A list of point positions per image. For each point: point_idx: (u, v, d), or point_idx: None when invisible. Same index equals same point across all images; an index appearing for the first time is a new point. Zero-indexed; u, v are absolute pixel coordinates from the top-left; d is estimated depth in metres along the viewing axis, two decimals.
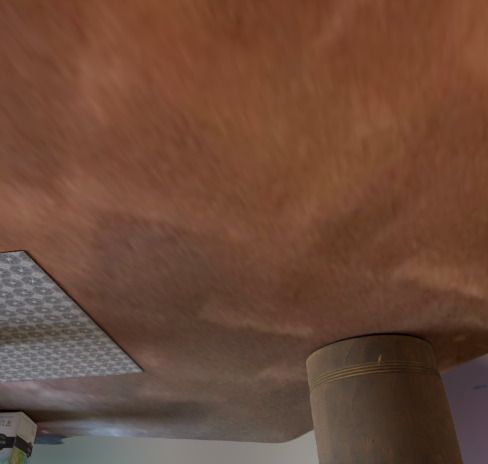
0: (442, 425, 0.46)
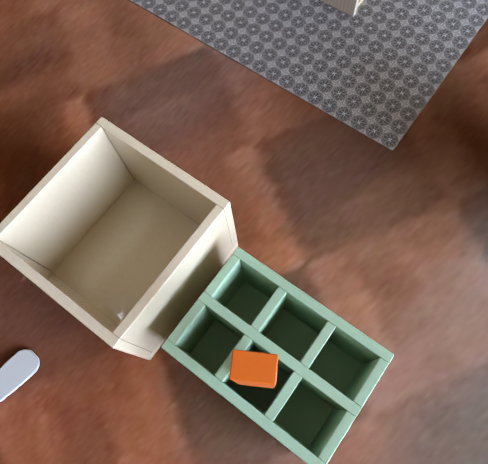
0: None
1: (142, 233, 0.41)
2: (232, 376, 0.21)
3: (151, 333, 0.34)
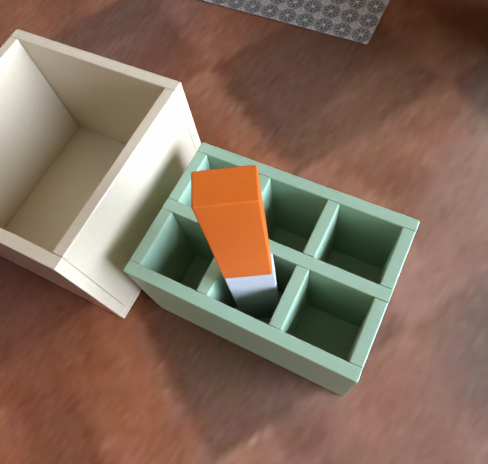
0: None
1: (96, 179, 0.35)
2: (195, 203, 0.15)
3: (114, 269, 0.27)
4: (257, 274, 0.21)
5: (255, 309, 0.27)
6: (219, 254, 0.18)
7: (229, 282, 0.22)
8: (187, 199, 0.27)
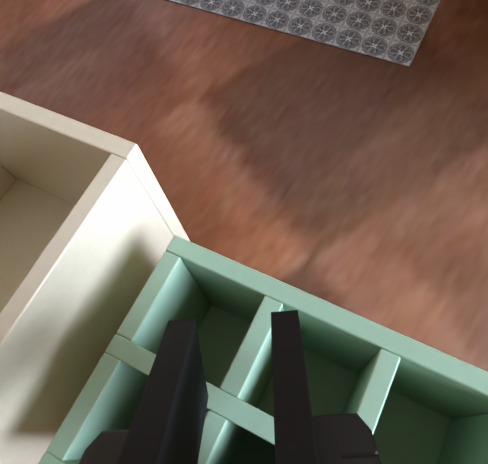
0: None
1: (33, 258, 0.25)
2: None
3: (33, 437, 0.17)
4: None
5: None
6: None
7: None
8: (149, 329, 0.17)
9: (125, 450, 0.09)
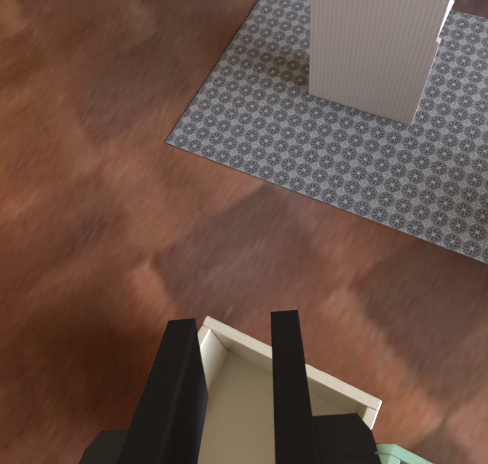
0: None
1: (254, 416, 0.37)
2: None
3: None
4: None
5: None
6: None
7: None
8: None
9: (125, 450, 0.09)
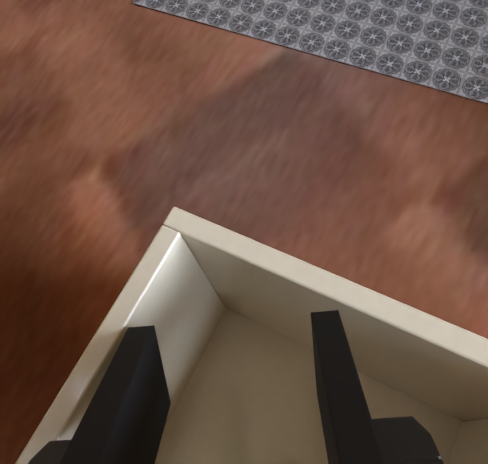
0: None
1: (272, 423, 0.20)
2: None
3: None
4: None
5: None
6: None
7: None
8: None
9: (63, 462, 0.09)
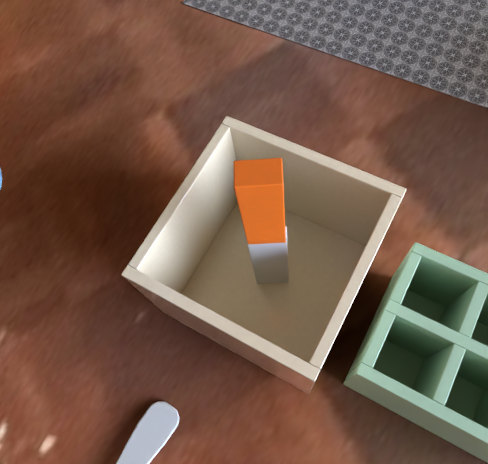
0: None
1: None
2: (236, 183, 0.20)
3: None
4: (274, 242, 0.26)
5: (268, 274, 0.33)
6: (247, 223, 0.24)
7: (250, 248, 0.28)
8: None
9: None
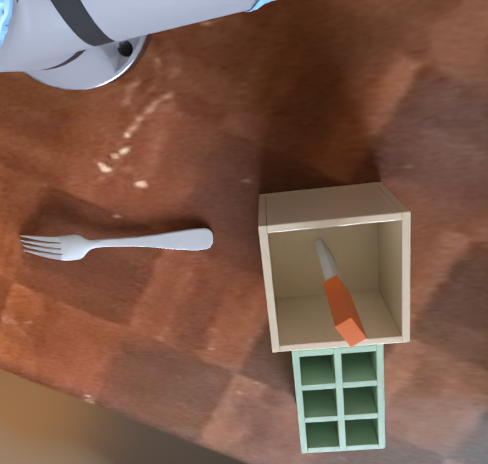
0: None
1: (341, 233, 0.48)
2: (337, 327, 0.33)
3: None
4: None
5: None
6: None
7: None
8: None
9: None
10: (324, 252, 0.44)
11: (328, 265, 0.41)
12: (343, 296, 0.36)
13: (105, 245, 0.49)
